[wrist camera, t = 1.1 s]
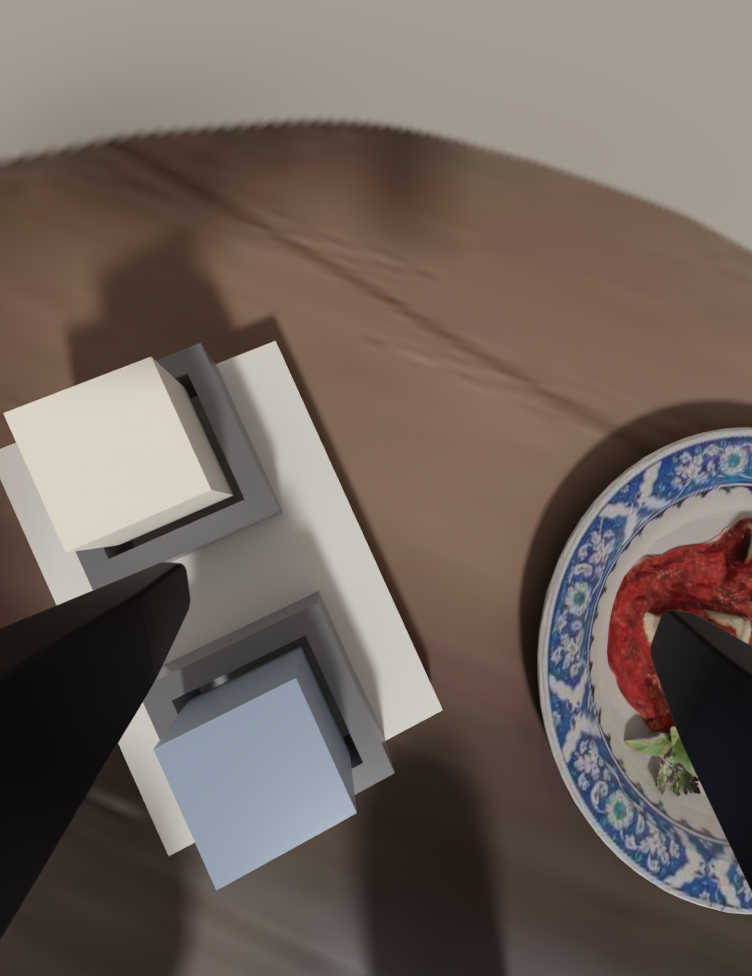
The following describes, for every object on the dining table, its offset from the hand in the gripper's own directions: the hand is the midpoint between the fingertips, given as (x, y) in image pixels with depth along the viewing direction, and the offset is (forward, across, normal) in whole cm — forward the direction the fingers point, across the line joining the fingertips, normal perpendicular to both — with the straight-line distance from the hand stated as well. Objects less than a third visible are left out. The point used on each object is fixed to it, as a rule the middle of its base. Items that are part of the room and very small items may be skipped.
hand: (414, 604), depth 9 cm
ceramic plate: (+16, -19, +13) cm, 28 cm away
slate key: (+6, +5, +11) cm, 14 cm away
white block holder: (+12, +9, +9) cm, 17 cm away
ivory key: (+10, +11, +2) cm, 15 cm away
